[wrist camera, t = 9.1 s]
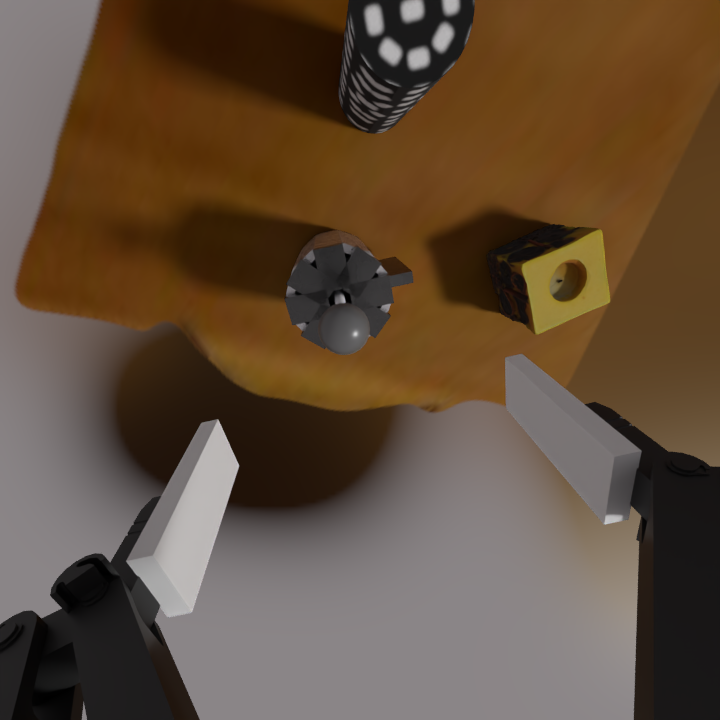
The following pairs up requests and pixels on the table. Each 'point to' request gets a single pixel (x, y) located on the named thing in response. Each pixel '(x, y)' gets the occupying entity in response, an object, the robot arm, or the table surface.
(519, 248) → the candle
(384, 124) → the spotted tube
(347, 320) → the grey ball-topped rod
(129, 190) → the table surface
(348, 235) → the grey cylinder
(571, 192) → the table surface
